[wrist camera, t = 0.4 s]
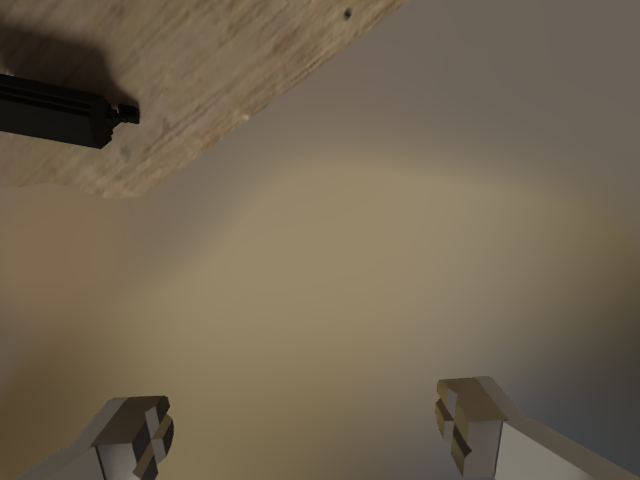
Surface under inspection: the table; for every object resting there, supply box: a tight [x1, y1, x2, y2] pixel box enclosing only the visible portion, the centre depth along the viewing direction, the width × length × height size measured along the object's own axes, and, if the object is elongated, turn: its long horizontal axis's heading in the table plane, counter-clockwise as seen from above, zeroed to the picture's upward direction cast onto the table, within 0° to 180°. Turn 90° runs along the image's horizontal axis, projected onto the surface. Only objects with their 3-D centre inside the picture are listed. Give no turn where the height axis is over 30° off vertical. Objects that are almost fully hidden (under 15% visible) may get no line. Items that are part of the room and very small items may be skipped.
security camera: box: [0, 74, 140, 149], centre depth 45 cm, size 7×18×10 cm, turn 76°
